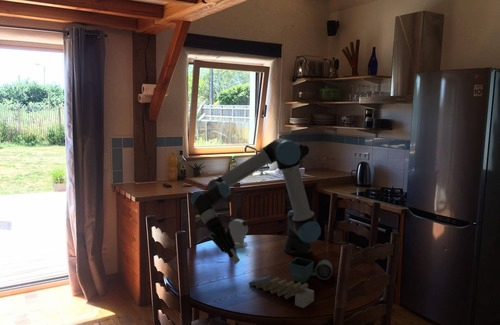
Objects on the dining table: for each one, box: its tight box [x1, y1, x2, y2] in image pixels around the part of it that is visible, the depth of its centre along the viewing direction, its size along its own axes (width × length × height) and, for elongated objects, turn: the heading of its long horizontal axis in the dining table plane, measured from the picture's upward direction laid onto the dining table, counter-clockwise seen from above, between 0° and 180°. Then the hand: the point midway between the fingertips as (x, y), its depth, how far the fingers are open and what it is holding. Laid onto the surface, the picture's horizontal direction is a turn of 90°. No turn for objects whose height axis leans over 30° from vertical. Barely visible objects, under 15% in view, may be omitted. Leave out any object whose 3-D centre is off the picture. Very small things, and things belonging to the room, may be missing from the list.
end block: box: [294, 287, 315, 309], centre depth 166 cm, size 4×8×4 cm, turn 141°
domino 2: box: [254, 277, 281, 290], centre depth 178 cm, size 2×5×10 cm
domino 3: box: [262, 278, 288, 292], centre depth 175 cm, size 2×5×10 cm
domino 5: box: [276, 282, 303, 298], centre depth 171 cm, size 2×5×10 cm
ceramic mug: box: [310, 259, 333, 281], centre depth 193 cm, size 11×8×8 cm
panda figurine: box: [228, 217, 250, 249], centre depth 235 cm, size 12×11×15 cm
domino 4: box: [269, 280, 296, 295], centre depth 173 cm, size 2×5×10 cm
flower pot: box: [288, 257, 315, 284], centre depth 187 cm, size 9×9×9 cm
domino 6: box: [283, 282, 309, 300], centre depth 169 cm, size 2×5×10 cm
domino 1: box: [248, 274, 274, 287], centre depth 180 cm, size 2×5×10 cm
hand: (237, 262), depth 188 cm, fingers closed
